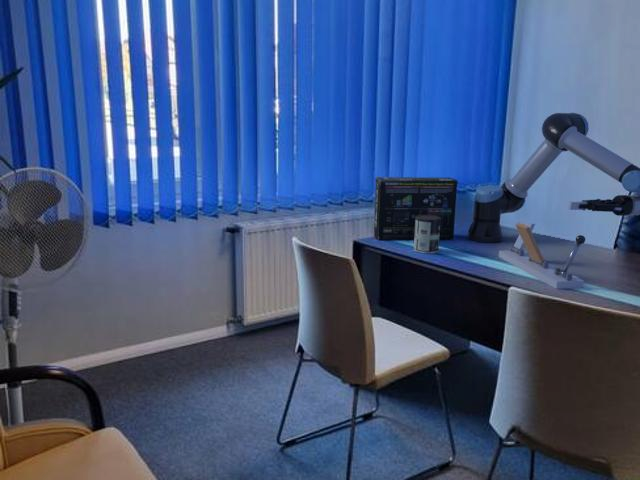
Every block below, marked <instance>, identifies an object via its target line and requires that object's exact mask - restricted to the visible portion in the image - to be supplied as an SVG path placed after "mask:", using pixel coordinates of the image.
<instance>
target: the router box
mask: <svg viewBox="0 0 640 480" xmlns="http://www.w3.org/2000/svg"><path fill="white" fill-rule="evenodd" d="M458 183H459V180H458V179H456V178H452V177H418V176H417V177H416V176H415V177H413V176H412V177H409V176H408V177H405V176H404V177H403V176H402V177H401V176H400V177H398V176H395V177H391V176H390V177H388V176H387V177H385V176H383V177H375V188H374V189H375V190H374V195H375V196H374V217H373V220H374V221H373V237H374V239H376V240H378V241H412V240H413V241H414V237H415V221H416V218H415V216H417V215H435V216H439V217H441V222H440V235H439V241H440V240H442V241H443V240H447V241H449V240H450V241H451V240H454V234H455V221H456V220H455V218H456V206H457V192H458V191H457V190H458Z"/></svg>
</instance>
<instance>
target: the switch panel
mask: <svg viewBox="0 0 640 480" xmlns="http://www.w3.org/2000/svg"><path fill="white" fill-rule="evenodd" d="M514 245H515V244H514ZM514 245H510V247H509V250H499V251H498V258H499V259H501V260H504V261H505V262H507V263H509V264H510V265H513V266H514V267H516V268H518V269H520V270H522V271H523V272H525V273H527V274H529V275H530V276H533V277H534V278H536V279H538V280H539V281H541V282H543V283H545V284H547V285H548V286H550V287H552V288H554V289H556V290H561V289H564V290H565V289H581V288H584V284H585V280H583V279H582V278H580V277H578V276H575V275H574V274H572V273H569V272H568V271H567V273H566V278H565V277H563V276H561V275H559V274H557V273H556V271H557V270H558V269H561V270H562V269H563V268H561V267H557V266H555V265H553V264H551V263H550V262H548V261H545V262H543V266H541V265H539V264H537V263H535V262H534V261H532V260H531V259H530V258H531V257H530V255H529V253H528V251H525V250H524V249H523V250H519V254H518V253H516V252H514V251H512V247H514Z"/></svg>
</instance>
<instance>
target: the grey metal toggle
mask: <svg viewBox="0 0 640 480" xmlns="http://www.w3.org/2000/svg"><path fill="white" fill-rule="evenodd" d="M584 243H586V237H585V236H584V235H580V234H579V235H577V236H576V237H575V244H574V245H573V248H572V249H571V252H570V254H569V256H568V258H567V260H566V262H565V263H564V265H563V268H561V269H562V270H561V269H558V270H557V271H556V273H557V274H559V275H561V276H563V277H565V278H566V273H567V272H568V271H569V269H570V267H571V265H572V262H573V261H574V259H575V257H576V255H577V253H578V251H579V248H580V247H581V245H582V244H584Z"/></svg>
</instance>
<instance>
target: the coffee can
mask: <svg viewBox="0 0 640 480" xmlns="http://www.w3.org/2000/svg"><path fill="white" fill-rule="evenodd" d="M415 218H416V221H415V237H414V240H413V251H414V252H416V253H420V254H426V255H427V254H438V252H439V250H440V249H439V247H440V246H439V245H440V240H439V235H440V222H441V217H439V216H435V215H417V216H415Z"/></svg>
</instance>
